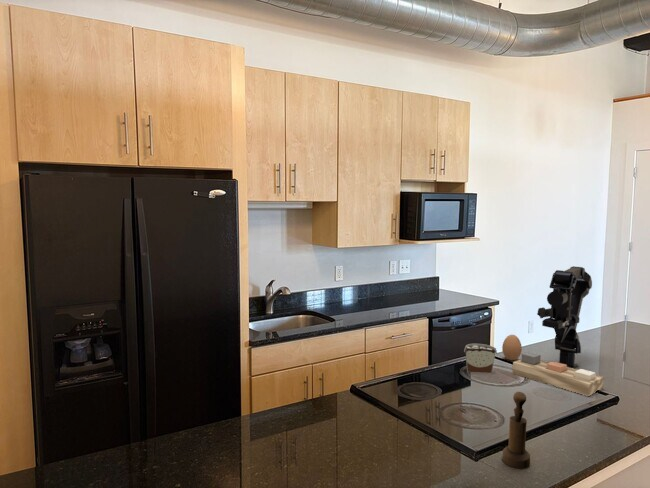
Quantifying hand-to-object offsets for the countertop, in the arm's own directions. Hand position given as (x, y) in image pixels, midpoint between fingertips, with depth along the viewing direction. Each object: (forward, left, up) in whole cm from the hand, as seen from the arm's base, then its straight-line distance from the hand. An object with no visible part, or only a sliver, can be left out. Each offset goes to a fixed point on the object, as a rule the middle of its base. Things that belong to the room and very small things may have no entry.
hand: (559, 342), depth 189 cm
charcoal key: (+10, -6, -8) cm, 14 cm away
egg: (+1, -19, -12) cm, 23 cm away
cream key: (+10, +14, -9) cm, 19 cm away
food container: (+24, -20, -12) cm, 34 cm away
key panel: (+10, +4, -12) cm, 16 cm away
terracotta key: (+10, +4, -9) cm, 14 cm away
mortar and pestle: (+76, +25, -12) cm, 81 cm away
